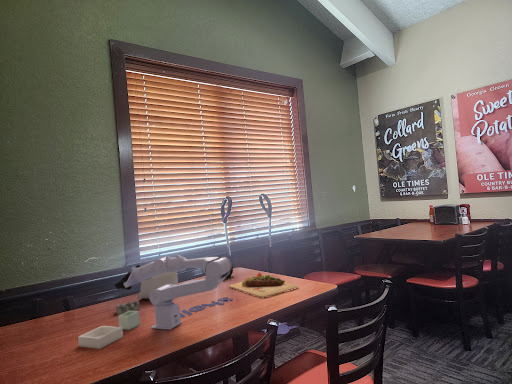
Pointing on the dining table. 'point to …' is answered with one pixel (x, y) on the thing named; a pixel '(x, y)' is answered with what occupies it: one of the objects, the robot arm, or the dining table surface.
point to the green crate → (129, 320)
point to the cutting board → (263, 285)
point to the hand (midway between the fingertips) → (121, 281)
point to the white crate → (100, 337)
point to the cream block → (157, 283)
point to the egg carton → (127, 307)
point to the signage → (203, 306)
